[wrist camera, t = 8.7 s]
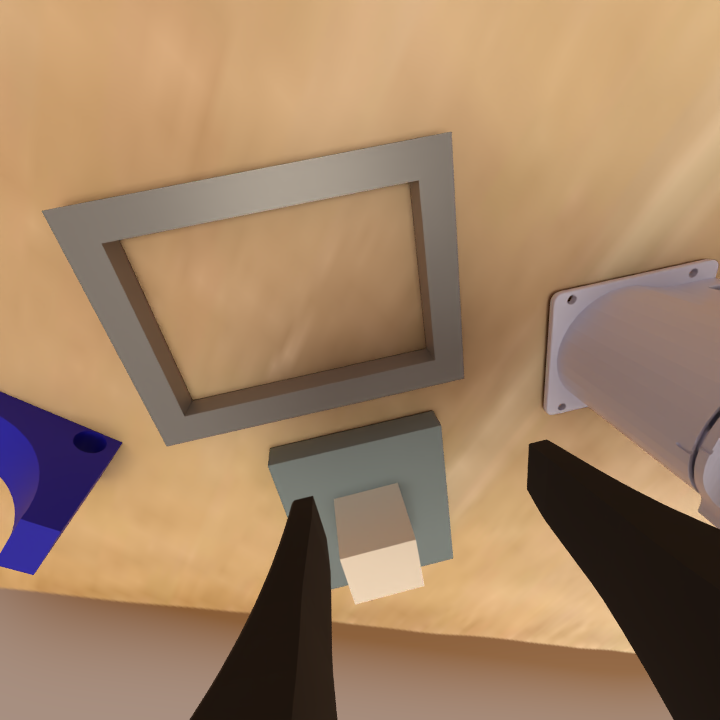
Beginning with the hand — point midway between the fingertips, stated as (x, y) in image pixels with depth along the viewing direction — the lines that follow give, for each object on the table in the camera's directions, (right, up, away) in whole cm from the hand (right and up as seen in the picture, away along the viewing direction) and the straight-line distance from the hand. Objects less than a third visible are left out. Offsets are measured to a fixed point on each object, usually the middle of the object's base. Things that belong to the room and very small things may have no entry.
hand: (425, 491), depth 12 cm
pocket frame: (-6, +7, +6) cm, 11 cm away
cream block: (-1, -5, +11) cm, 13 cm away
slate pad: (-2, -5, +13) cm, 14 cm away
